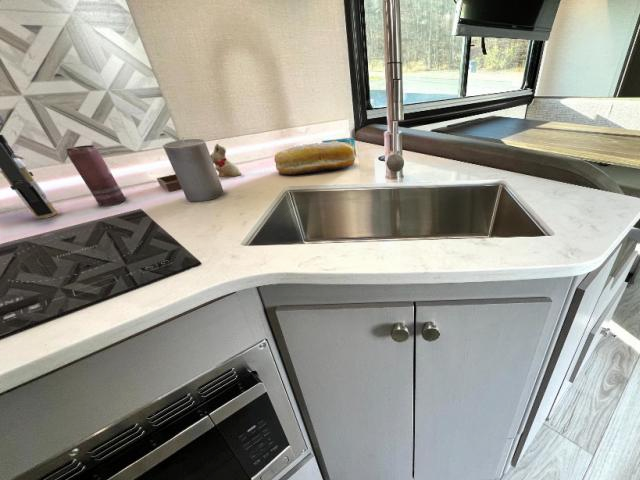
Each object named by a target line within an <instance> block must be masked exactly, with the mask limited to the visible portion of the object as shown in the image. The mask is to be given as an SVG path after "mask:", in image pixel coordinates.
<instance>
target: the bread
mask: <svg viewBox="0 0 640 480" xmlns="http://www.w3.org/2000/svg"><path fill="white" fill-rule="evenodd" d="M355 161H356V156H355V155H354V149H353V148H352V146H350V145H349V144H347V143H343V142H327V143H324V142H323V143H322V142H315V143H308V144H307V143H306V144H302V145H296V146H292V147H290V148H288V149H287V148H286V149H284V150H280V151H279V152H277V153H276V154H275V155H274V163H275V169H276V170H277V172H279V173H280V174H282V175H285V176H290V175H300V174H306V173H314V172H315V173H316V172H328V171H335V170H343V169H347V168H350V167H351V166H353V165H354V164H355Z"/></svg>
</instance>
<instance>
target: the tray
mask: <svg viewBox="0 0 640 480" xmlns="http://www.w3.org/2000/svg"><path fill="white" fill-rule="evenodd" d="M156 180H157V182H158V184H159V186H160V187H161V188H163V189H164V190H166V191H167V192H169V193H171V192H174V191H180V190H182V187H181V185H180V183H179V181H178V179H177V176H176V174H175V173H174V174H169V175H165V176H161V177H160V176H159V177H156Z"/></svg>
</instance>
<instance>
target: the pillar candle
mask: <svg viewBox="0 0 640 480" xmlns="http://www.w3.org/2000/svg"><path fill="white" fill-rule="evenodd" d="M161 147H162V148H163V149H164V151H165V154H166V156H167V158H168V161H169V163H170V165H171V168H172V169H173V172H174V174H176V176H177V179H178V181H179V183H180V185H181V187H182V189H181V190H182V192H183V194H184V196H185V198H186V200H187V201H189V202H206V201H211V200H215V199H217V198H220V197H221V196H222V195H224V193H225V191H224V189H223V185H222V184H221V180H220V178H219V177H220V176H219V173H218V171H217V170H216V167H215V164H214V163H213V161H212V159H211V156H210V155H211V154H210V151H209V149H208V145H207V143H206V141H205V139H201V138H188V139H185V138H184V136H182V139H180V140H173V141H169V142H167V143H164V144H162V146H161Z"/></svg>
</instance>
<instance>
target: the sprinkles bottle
mask: <svg viewBox="0 0 640 480" xmlns="http://www.w3.org/2000/svg"><path fill="white" fill-rule="evenodd" d="M13 159H14V161H15V162H16V164H17V165H18V167H19V168H20V170H21V171H22V173H23V174H24V176H25V177H26V179H27V180H28V181H29V183H31V186H33V187H34V188H35V189H36V191H37V192H38V193H39V195H40V196H41V198H42V199H43V200H44V202H45V203H46V204H47V206H48V207H49V208H50V210H51V211H52V213H50V214H46V215H42V216H37V215H36V213H35V212H34V211H33V210H32V208H31V207H30V206H29V204H28V203H27V202H26V200H25V199H24V198H23V197H22V195H21V194H20V193H19V191H18V190H17V189H16V190H14V191H15V193H16V195H17V196H18V198H20V200H21V201H22V203H24V205H25V206H26V207H27V209H29V211H30V212H31V213H32V214H33V217H34V218H35V219H47V218H51V217H55V216H57V215H58V214H59V211H58V210H57V209H56V207H54V204H52V202H51V201H50V198H48V196H47V194H46V193H45V192H44V191H43V189H42V188H41V186H40V185H39V184H38V183H37V180H35V178H34V176H31V175H30V174H29V172H30V171H29V170H28V169H27V166H26V164H25V163H24V162H23V160H22V159H20V158H19V157H17V158H13ZM0 173H1V174H2V176H3V177H4V178H5V179H6V181H7V182H8V184H9V185H10V186H12V183H11V182H10V180H9V179H8V178H7V176H6V175H5V174H4V172H3V171H2V170H1V168H0ZM19 181H22V180H19Z"/></svg>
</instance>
